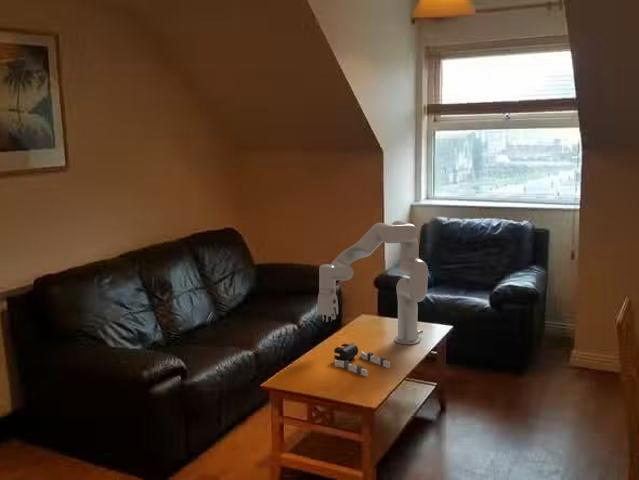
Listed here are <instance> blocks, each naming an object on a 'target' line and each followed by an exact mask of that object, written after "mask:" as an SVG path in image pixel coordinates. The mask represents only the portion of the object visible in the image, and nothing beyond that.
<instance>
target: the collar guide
mask: <svg viewBox="0 0 639 480" xmlns="http://www.w3.org/2000/svg"><path fill="white" fill-rule="evenodd" d="M360 358H361V359H362V360H366V361H369V362H370V363H374V364H377V365H379V366H381V367H385V368H388V369H389V368H391V361H388V360H387V357H385V356H381V357H379V356H375V355H374V353H373V352H371V351H369V352H367V353H366V352H364V351H363V350H361V351H360ZM334 367H340V368H343V369H344V370H346V371H347V370H348V371H351V372H353V373H356V375H359V376H360V375H361V376H364V377H368V374H369V371H368V369H366V368H363V367H364V366H362V365H355V364H351V362H350V360H348V361H347V360H346V361H341V360H336V359H335V360H334Z"/></svg>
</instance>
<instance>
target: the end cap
mask: <svg viewBox="0 0 639 480" xmlns="http://www.w3.org/2000/svg"><path fill="white" fill-rule="evenodd" d="M340 346H341V347H339V346H336V347H335V348H334V351H333V352H334V353H335V354H334V357H333V358H334V359H335V360H341V361H346V360H347V361H350V360H351V359H353V358H355V357H356V356H357V355H358V354H359V348H358V346H357V345H356V343H350V344H348V343H342V344H341V345H340ZM337 354H339V355H337Z"/></svg>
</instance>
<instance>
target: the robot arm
mask: <svg viewBox="0 0 639 480" xmlns="http://www.w3.org/2000/svg"><path fill="white" fill-rule="evenodd" d="M418 236H419V230H418V227H417V226H416V225H414V224H412V223H409V222H406V221H402V220H396V221H393V222H392V223H391V224H388V223H383V222H376V223H375V224H373V225H372V227H371V228H370V229H369V230H368V231H366V233H365V234H364V235H363V236H362V237H361V238H360V239H359V240H358V241H357V242H356V243H355V244H353V245H351V246H349V247H348V248H346V249H344V250H343V251H342V252H341V253H339V254H338V255H337V256H336V257H335V259H334V260H332V262H331V264H330V263H329V264H328V263H326V264H321V265H320V266H319V270H318V271H319V272H318V274H319V275H318V276H319V278H318V279H319V283H318V284H319V287H318V290H319V291H318V296H317V305H316V308H317V310H316V311H317V312H318V315H319V316H321V318H322V322H323V323H322V324H323V325H322V326H323V328H322V329H323V330H324V331H329V330H331V329H332V328H331V326H332V324H331V323H332V321H333V320H336V319H337V316H338V315H339V302H338V301H339V300H338V295H337V294H336V293H337V290H336V285H337V284H336V282H337V281H341V282H342V281H344V282H346V281H349V280H351V279H352V278H353V276H354V274H355V273H354V269H353V267H352V266H351V264H352V263H353V262H356V261H357V260H361V259H364V258H367V257H370V256H371V255H372V254H373V253H374V252H375V250H377V248H378V247H379V246H381V244H382V243H385V244H400V264H399V265H400V266H399V267H400V268H399V269H400V272H401V273H402V274H403V275H405V276H406V277H402V278H400V279H399V280H398V282H397V283H396V285H395V286H396V296H397V336H395V337H394V342H396V343H398V344H399V345H409V346H410V345H417V344H418V343H420V342H421V337H420V336H419V335H421V334H423V333H424V330H423V329H418V312H419V311H418V309H419V308H418V307H419V306H418V303H419V302H422V301H424V299H426V296H427V293H428V284H429V283H428V282H429V268H428V265H427V263H426V262H425V261H424V260H422V259H421V258H420V256H419V253H420V252H419V240H418Z"/></svg>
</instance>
